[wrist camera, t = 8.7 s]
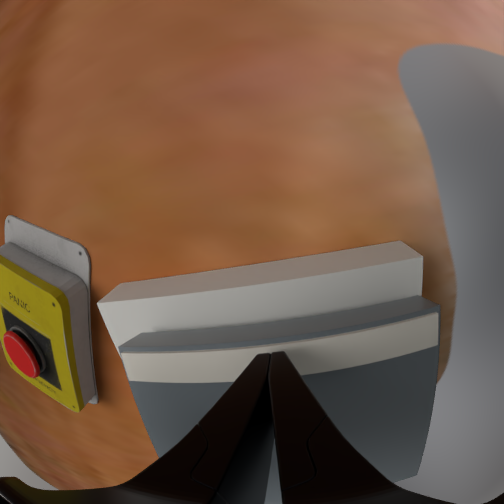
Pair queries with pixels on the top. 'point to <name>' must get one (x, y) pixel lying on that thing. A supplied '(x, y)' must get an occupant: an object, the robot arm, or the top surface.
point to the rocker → (304, 376)
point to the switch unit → (264, 291)
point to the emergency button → (47, 312)
